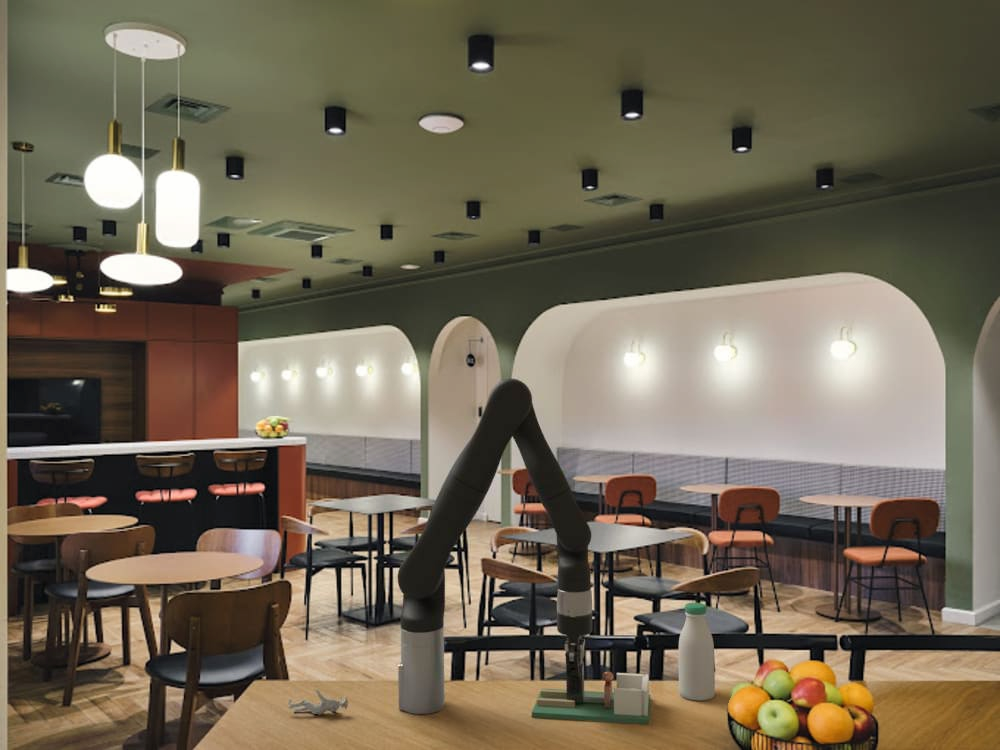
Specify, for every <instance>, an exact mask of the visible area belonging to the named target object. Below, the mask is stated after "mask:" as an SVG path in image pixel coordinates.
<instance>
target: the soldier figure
mask: <svg viewBox="0 0 1000 750" xmlns="http://www.w3.org/2000/svg"><path fill="white" fill-rule="evenodd" d="M313 690H314V691H315V692H316V694H317V696H318V698H319V699H320V700H321V701H320V702H317V703H316V705H315V704H314V702H311V701H309V700H307V699H302V700H300V701H298V702H293V701H292V699H291V698H290V699H289V700H288V704H289V706H288V708H289V710H291V709H293V711H294V712H296V713H298V712H306V711H309V712H310V713H311V714H313V715H315V714H321V715H323V714H325V713H327V712H332V711H333V712H332V713H335V712H337V711H338V710H339V709H340V707H341V708H344V710H347V709H348V706H349V702H348V697H347V695H344V696H343V697H342V698H340V699H341V701H340V700H339V699H337V698H335V699H334V698H326V696H325V697H324V696H323V694H321V691H320V690H319V689H318V688H316V687H315V688H313ZM334 711H335V712H334ZM294 712H293V713H294Z"/></svg>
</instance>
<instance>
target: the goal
mask: <svg viewBox="0 0 1000 750" xmlns="http://www.w3.org/2000/svg"><path fill="white" fill-rule="evenodd" d="M649 677H650V676H649V674H646V673H645V674H644V673H629V672H628V673H627V672H616V687H614V688H613V693H614V714H622V715H638V716H648V702H649V695H650V691H649V690H650V688H649V687H650V685H649V684H650V681H649ZM631 688H635V689H631Z"/></svg>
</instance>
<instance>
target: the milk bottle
mask: <svg viewBox="0 0 1000 750" xmlns="http://www.w3.org/2000/svg"><path fill="white" fill-rule="evenodd" d="M684 615H685V617H686V618H685V622H684V625H683V627H682V629H681V632H680V634H679V638H678V639H679V640H678V692H679V695H680V696H681V698H684V699H686V700H690V701H698V702H699V701H702V702H703V701H708V700H711V699H713V698H714V697H715V693H716V690H715V689H716V688H715V687H716V685H715V684H716V683H715V679H716V678H715V676H716V675H715V648H714V647H715V646H714V639H713V635H712V633H711V631H710V628H709V626H708V624H707V621H706V616H707V605H706V604H704V603H701V602H689V603H686V604H685V605H684Z"/></svg>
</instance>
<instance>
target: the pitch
mask: <svg viewBox="0 0 1000 750" xmlns="http://www.w3.org/2000/svg"><path fill="white" fill-rule="evenodd" d="M584 694H594V695H604V691H595V690H594V691H592V690H584ZM537 696H538V697H537V698H536V701H535V703H534V706H533V708H532V711H531V718H540V719H541V718H542V719H554V720H556V719H557V720H570V721H571V720H573V721H574V720H575V721H585V722H586V721H587V722H588V721H590V722H600V723H601V722H604V723H619V724H633V725H634V724H635V725H650V713H651V712H650V711H651V694H649V702H648V716H638V715H622V714H614V691H612V702H611V707H610V708H605V704H604V703H587V702H583V704H575V700H567V689H558V688H557V689H556V688H541V689H540V691H539V694H538V695H537Z"/></svg>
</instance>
